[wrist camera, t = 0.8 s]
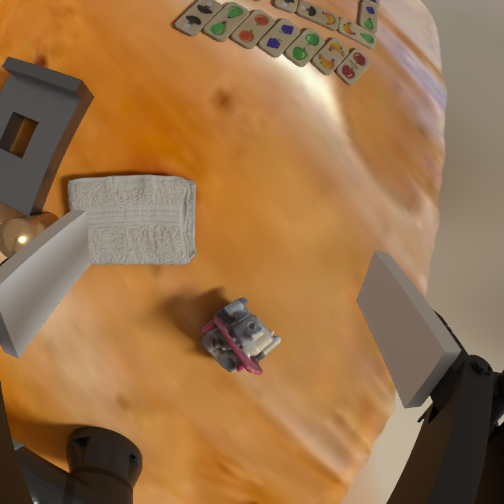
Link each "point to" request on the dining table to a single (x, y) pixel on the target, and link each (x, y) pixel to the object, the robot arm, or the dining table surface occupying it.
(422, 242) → the dining table surface
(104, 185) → the washcloth
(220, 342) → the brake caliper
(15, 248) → the tan cylinder
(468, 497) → the robot arm
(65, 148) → the jig
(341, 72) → the pile of dominoes
